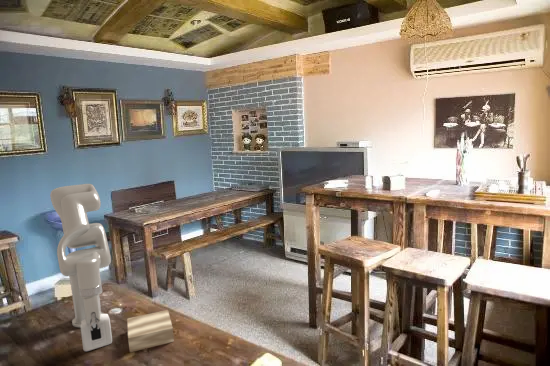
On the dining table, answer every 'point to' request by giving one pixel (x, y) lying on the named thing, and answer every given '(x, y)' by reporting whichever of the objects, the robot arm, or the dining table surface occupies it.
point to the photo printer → (105, 334)
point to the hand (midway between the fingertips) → (96, 333)
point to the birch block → (149, 330)
